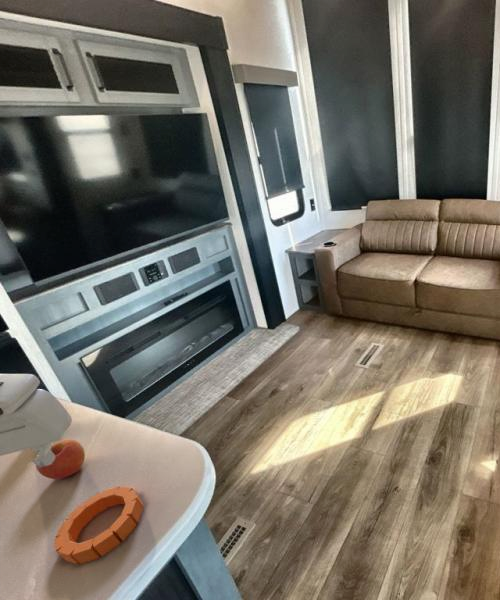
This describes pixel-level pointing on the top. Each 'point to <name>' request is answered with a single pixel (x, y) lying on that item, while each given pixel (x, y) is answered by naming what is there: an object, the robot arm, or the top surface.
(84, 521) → the orange ring
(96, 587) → the top surface
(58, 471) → the apple
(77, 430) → the top surface
